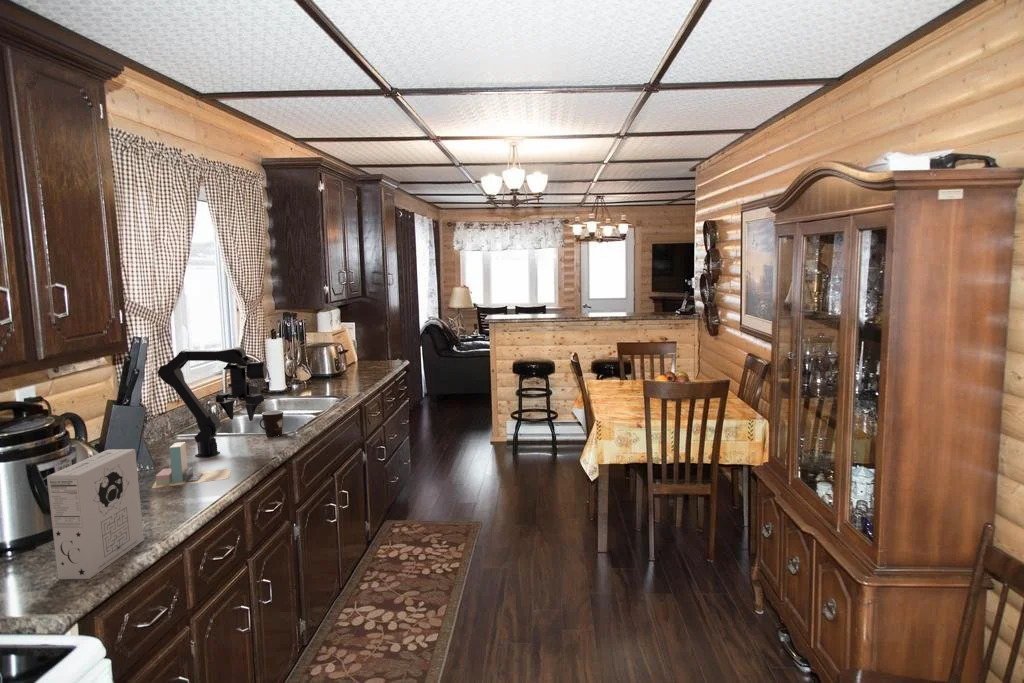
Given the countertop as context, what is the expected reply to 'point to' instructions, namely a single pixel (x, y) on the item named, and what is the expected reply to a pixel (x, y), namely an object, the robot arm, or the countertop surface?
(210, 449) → the robot arm
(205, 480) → the shelf plank
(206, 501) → the countertop surface
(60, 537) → the cereal box
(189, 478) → the metal bookend
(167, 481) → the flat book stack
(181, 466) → the boxed book
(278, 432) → the coffee mug
